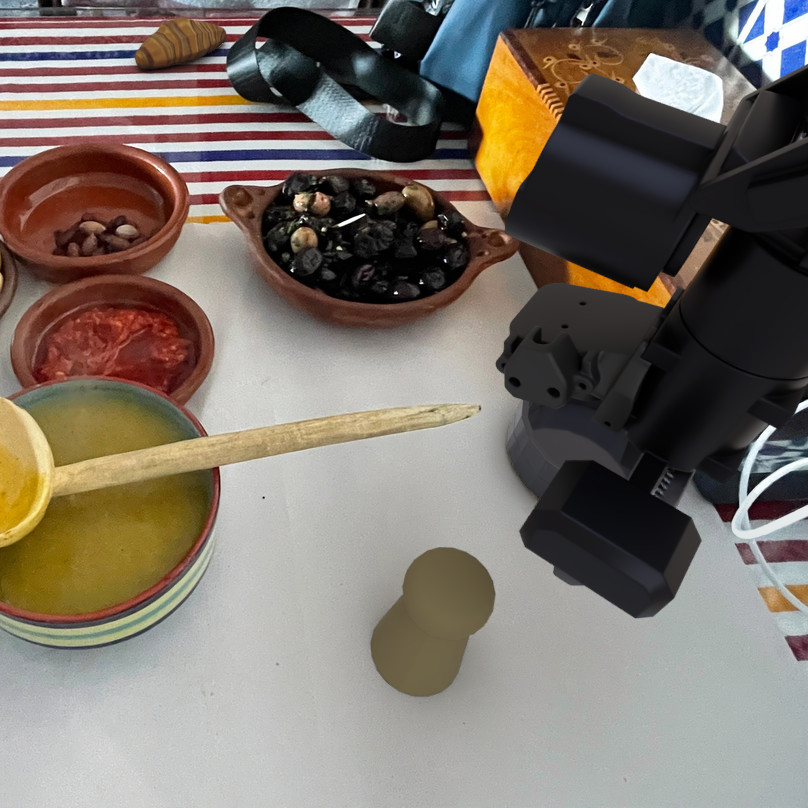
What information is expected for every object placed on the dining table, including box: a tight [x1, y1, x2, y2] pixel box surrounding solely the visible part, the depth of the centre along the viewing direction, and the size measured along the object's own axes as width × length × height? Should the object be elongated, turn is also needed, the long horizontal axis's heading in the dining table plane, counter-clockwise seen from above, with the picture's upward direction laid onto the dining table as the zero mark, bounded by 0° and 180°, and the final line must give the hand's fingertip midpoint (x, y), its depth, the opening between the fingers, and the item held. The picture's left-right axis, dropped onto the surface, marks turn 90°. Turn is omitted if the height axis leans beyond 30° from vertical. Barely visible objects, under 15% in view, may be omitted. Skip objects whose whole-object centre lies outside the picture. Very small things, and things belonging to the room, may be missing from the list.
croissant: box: [134, 17, 228, 70], centre depth 96 cm, size 14×7×5 cm, turn 129°
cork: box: [370, 546, 497, 698], centre depth 46 cm, size 6×6×11 cm
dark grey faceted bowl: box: [505, 398, 669, 499], centre depth 60 cm, size 12×12×4 cm
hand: (597, 519), depth 43 cm, fingers open, 9 cm apart
